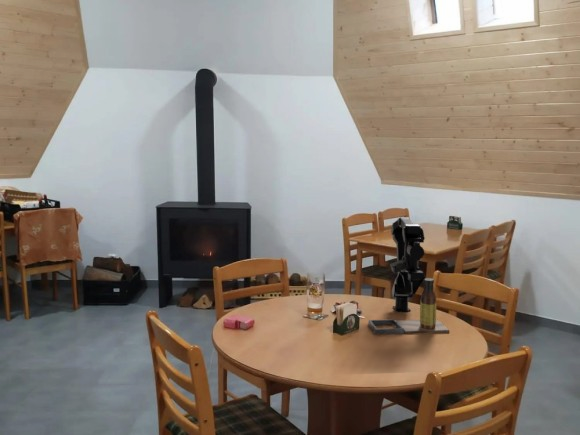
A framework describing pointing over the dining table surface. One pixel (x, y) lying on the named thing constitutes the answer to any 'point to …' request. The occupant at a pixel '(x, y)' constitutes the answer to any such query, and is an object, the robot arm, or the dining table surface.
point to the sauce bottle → (428, 305)
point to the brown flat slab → (415, 327)
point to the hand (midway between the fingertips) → (409, 291)
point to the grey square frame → (388, 330)
